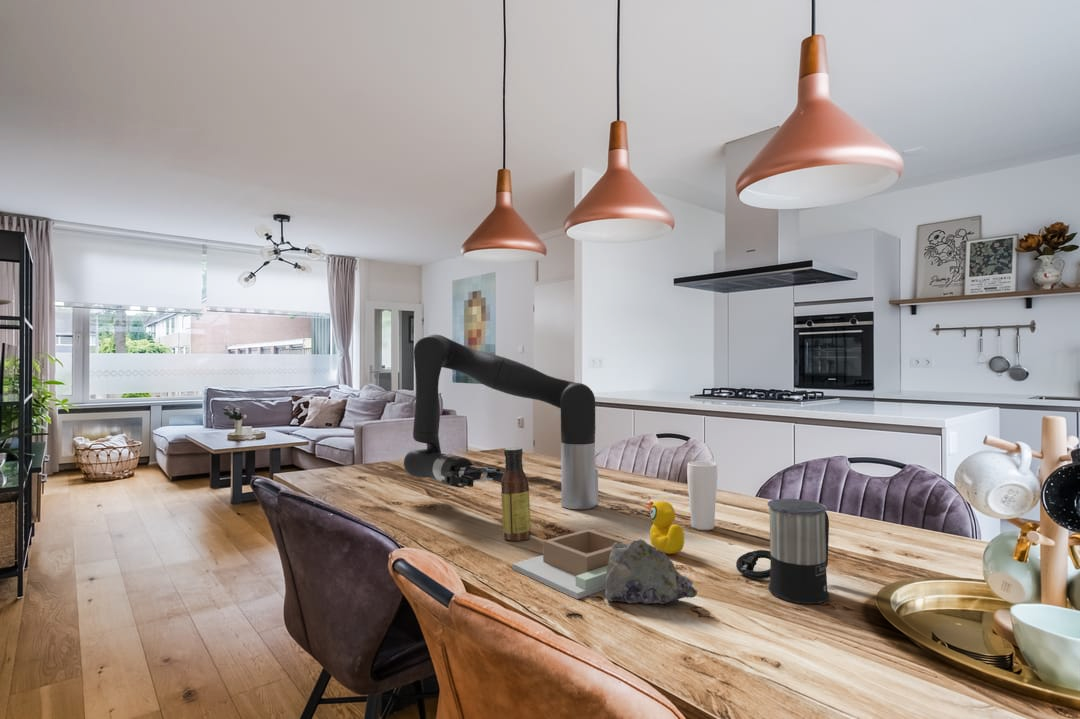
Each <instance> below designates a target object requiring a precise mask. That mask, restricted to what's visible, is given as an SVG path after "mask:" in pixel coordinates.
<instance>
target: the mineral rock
mask: <svg viewBox="0 0 1080 719" xmlns="http://www.w3.org/2000/svg"><path fill="white" fill-rule="evenodd" d="M630 542H631V541H630ZM693 585H694V582H693V581H692V580H691V579H690V578H688V577H687V576H685V575H682V574H681V573H680V572H678V571H677V569H676V568H675V564H674V562H673V561H672V560H671V559H670V557H669V556H668V555H667V554H666V553H664V552H662V551H660V550H658V549H656V548H655V547H654V546H653V545H651V544H648V543H647V542H646V541H644V540H642V539H641V538H640V539H638V540H635V539H634V540H633V541H632V542H631V543H630V544H628V545H627V544H622V543H614V544H613V546H612V551H611V554H610V557H609V561H608V566H607V574H606V589H605V590H604V591H605V592H604V595H605V599H606V600H607V601H608V602H614V601H615V602H621V603H622V602H624V603H628V604H637V603H642V604H645V605H647V604H662V605H663V604H667V603H669V602H676V601H678V600H680V599H681V600H682V599H684V598H686V599H687V598H690V599H691V598H695V597H697V596H698V595H697V594H698V590H697V589H695V587H693Z"/></svg>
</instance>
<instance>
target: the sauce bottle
mask: <svg viewBox="0 0 1080 719" xmlns="http://www.w3.org/2000/svg"><path fill="white" fill-rule="evenodd" d="M503 451H504V452H503V454H504V457H505V466H504V467H505V469H504V470H505V471H504V472H503V476H502V480H501V482H500V484H501V485H500V487H501V488H500V489H501V492H500V493H501V494H500V495H501V499H500V500H501V514H502V515H501V516H502V518H501V520H502V523H501V524H502V532H503V538H504V539H505V540H508V541H511V542H521V541H526V540H528V539H529V538H530V537H531V528H532V526H531V524H532V523H531V505H530V504H531V502H530V486H529V480H528V478H527V476H526V473H525V471H524V469H523V454H524V453H523V452H524V451H523V448H522V447H516V446H515V447H514V446H513V447H506V448H504V449H503Z"/></svg>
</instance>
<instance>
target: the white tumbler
mask: <svg viewBox="0 0 1080 719" xmlns="http://www.w3.org/2000/svg"><path fill="white" fill-rule="evenodd" d="M686 468H687V469H686V473H687V474H686V475H687V476H686V477H687V479H686V480H687V491H688V501H689V512H690V514H689V515H690V526H691V528H693V529H695V530H699V531H710V530H713V529H714V528H715V524H716V523H715V522H716V520H715V517H716V504H717V490H718V489H717V488H718V466H717V463H715V462H711V461H702V460H701V461H699V460H698V461H697V460H696V461H689V462H687V467H686Z"/></svg>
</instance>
